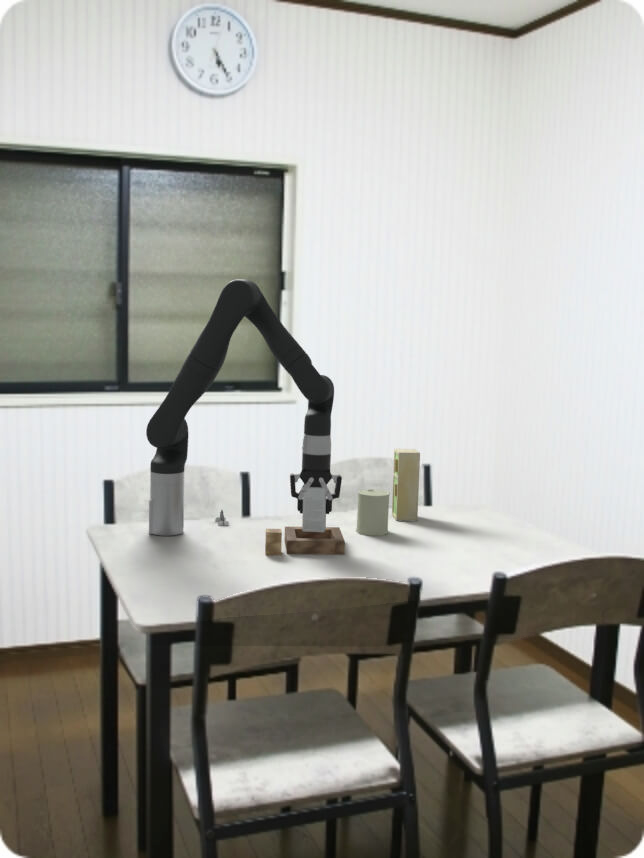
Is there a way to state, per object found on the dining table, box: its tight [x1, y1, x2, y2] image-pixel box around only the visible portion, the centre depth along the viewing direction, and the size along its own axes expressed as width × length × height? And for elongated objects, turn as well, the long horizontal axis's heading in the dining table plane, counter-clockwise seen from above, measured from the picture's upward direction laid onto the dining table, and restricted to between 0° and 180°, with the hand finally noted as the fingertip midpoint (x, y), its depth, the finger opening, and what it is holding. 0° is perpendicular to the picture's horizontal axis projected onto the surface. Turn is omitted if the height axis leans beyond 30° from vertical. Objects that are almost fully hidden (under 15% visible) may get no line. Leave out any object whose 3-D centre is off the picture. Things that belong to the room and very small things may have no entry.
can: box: [355, 488, 390, 537], centre depth 265 cm, size 9×9×12 cm
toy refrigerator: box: [391, 448, 421, 522], centre depth 283 cm, size 8×7×21 cm
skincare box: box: [301, 487, 327, 532], centre depth 246 cm, size 6×4×12 cm
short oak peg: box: [264, 528, 283, 556], centre depth 239 cm, size 4×4×6 cm
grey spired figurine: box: [214, 509, 230, 526], centre depth 265 cm, size 15×7×4 cm, turn 17°
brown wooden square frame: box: [284, 526, 346, 555], centre depth 247 cm, size 15×15×4 cm
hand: (314, 513), depth 246 cm, fingers closed on skincare box, 6 cm apart
